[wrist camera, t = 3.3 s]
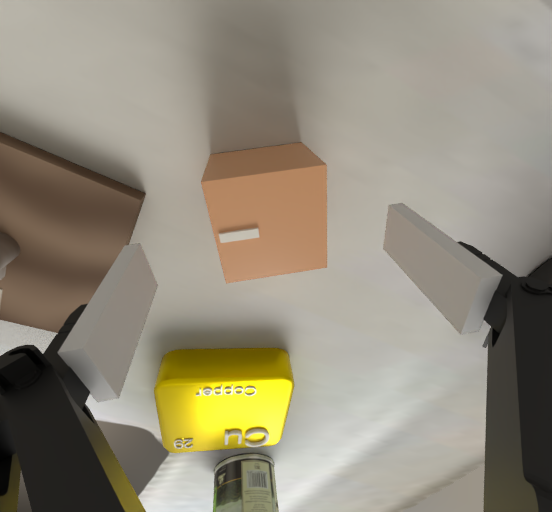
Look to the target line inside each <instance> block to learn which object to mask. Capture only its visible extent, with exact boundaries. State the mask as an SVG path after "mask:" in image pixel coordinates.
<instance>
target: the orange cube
mask: <svg viewBox="0 0 552 512" xmlns="http://www.w3.org/2000/svg"><path fill="white" fill-rule="evenodd" d="M201 184H202V188H203V192H204V196H205V200H206V204H207V208H208V212H209V216H210V220H211V224H212V228H213V232H214V236H215V240H216V244H217V248H218V252H219V257H220V261H221V265H222V269H223V273H224V277H225V281H226V283H231V282H238V281H244V280H250V279H257V278H263V277H269V276H276V275H282V274H289V273H295V272H301V271H308V270H314V269H320V268H327V165H326V164H325V163H324V162H323V161H322V160H321V159H320V158H318V157H317V156H316V155H315V154H314V153H313V152H312V151H311V150H309V149H308V148H307V147H306V146H305V145H304V144H303V143H302V142H300V143H293V144H285V145H278V146H270V147H263V148H255V149H248V150H240V151H233V152H225V153H218V154H210V157H209V160H208V163H207V166H206V169H205V172H204V175H203V178H202V181H201Z"/></svg>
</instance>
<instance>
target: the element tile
mask: <svg viewBox="0 0 552 512" xmlns="http://www.w3.org/2000/svg"><path fill="white" fill-rule="evenodd" d="M293 389H294V379H293V374H292V369H291V364H290V359H289V355H288V353H287V352H286V351H285V350H283V349H279V348H233V349H180V350H174V351H170V352H168V353H167V354H165V355H164V357H163V359H162V361H161V365H160V369H159V373H158V376H157V380H156V384H155V388H154V394H155V400H156V406H157V412H158V418H159V424H160V430H161V436H162V442H163V446H164V447H165V448H166V449H167V450H168V451H169V452H171V453H181V452H195V451H208V450H222V449H236V448H249V447H263V446H272V445H275V444H276V443H277V442H278V441H279V440H280V439H281V438H282V434H283V430H284V426H285V422H286V418H287V414H288V410H289V406H290V402H291V397H292V393H293Z"/></svg>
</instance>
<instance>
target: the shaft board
mask: <svg viewBox="0 0 552 512" xmlns="http://www.w3.org/2000/svg"><path fill="white" fill-rule="evenodd" d="M145 195H146V194H145V193H143V192H141V191H138V190H136V189H134V188H131V187H129V186H126V185H124V184H122V183H119V182H117V181H115V180H112V179H110V178H108V177H105V176H103V175H100V174H98V173H96V172H93V171H91V170H89V169H86V168H84V167H82V166H79V165H77V164H74V163H72V162H70V161H67V160H65V159H63V158H60V157H58V156H56V155H53V154H51V153H48V152H46V151H44V150H41V149H39V148H37V147H34V146H32V145H30V144H27V143H25V142H22V141H20V140H18V139H15V138H13V137H11V136H8V135H6V134H4V133H1V132H0V320H4V321H8V322H13V323H17V324H21V325H26V326H30V327H34V328H39V329H43V330H47V331H52V332H56V333H58V331H59V330H60V329H61V327H62V326H64V325H63V324H64V323H65V321H66V320H67V318H68V317H69V315H70V314H71V313H72V312H73V311H74V310H76V309H77V308H78V307H79V306H80V305H83V304H88V303H89V302H90V300H91V298H92V297H93V295H94V294H95V292H96V290H97V289H98V287H99V286H100V284H101V282H102V281H103V279H104V278H105V276H106V274H107V273H108V271H109V270H110V268H111V266H112V265H113V263H114V262H115V260H116V258H117V257H118V255H119V254H120V252H121V251H122V249H123V247H124V246H125V245H129V242H130V239H131V236H132V233H133V230H134V227H135V224H136V222H137V219H138V216H139V213H140V210H141V207H142V204H143V201H144V198H145Z"/></svg>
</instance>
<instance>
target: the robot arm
mask: <svg viewBox="0 0 552 512" xmlns="http://www.w3.org/2000/svg"><path fill="white" fill-rule="evenodd" d="M383 249H384V250H385V251H386V252H387V253H388V255H389V256H390V257H391V258H392V259H393V260H394V261H395V262H396V263H397V264H398V266H399V267H400V268H401V269H402V270H403V271H404V272H405V273H406V274H407V276H408V277H409V278H410V279H411V280H412V281H413V282H414V283H415V284H416V286H417V287H418V288H419V289H420V290H421V291H422V292H423V293H424V294H425V296H426V297H427V298H428V299H429V300H430V301H431V302H432V303H433V304H434V306H435V307H436V308H437V309H438V310H439V311H440V312H441V313H442V314H443V315H444V317H445V318H446V319H447V320H448V321H449V322H450V323H451V324H452V325H453V327H454V328H455V329H456V330H457V331H458V332H459V333H460V334H466V333H471V332H477V331H479V330H480V328H481V325H482V323H483V320H485V321H486V322H487V323H488V324H489V325H490V326H491V329H490V331H489V333H488V335H487V337H486V340H485V342H484V344H483V347H485V348H486V346H487V344H488V367H487V404H486V441H485V477H484V479H485V480H484V512H552V258H551V259H550V260H549V261H547V262H546V263H544V264H543V265H542V266H541V267H539V268H538V269H537V270H536V271H535V272H534V273H532V274H531V275H530V276H529V277H516V276H515V275H514V274H512V273H511V272H509V271H508V270H506V269H505V268H503V267H502V266H501V265H499V264H498V263H496V262H495V261H493V260H490V258H489V257H487V256H486V255H485V254H482V252H480V251H479V250H477V249H476V248H474V247H473V246H471V245H468V244H466V243H463V242H456V241H454V240H453V239H452V238H450V237H449V236H448V235H446V234H445V233H443V232H442V231H441V230H439V229H438V228H436V227H435V226H434V225H432V224H431V223H430V222H428V221H427V220H425V219H424V218H423V217H421V216H420V215H418V214H417V213H416V212H414V211H413V210H411V209H410V208H409V207H407V206H406V205H405V204H403V203H399V204H392V205H389V206H388V214H387V222H386V230H385V238H384V246H383ZM157 286H158V285H157V282H156V280H155V278H154V275H153V273H152V270H151V268H150V266H149V263H148V261H147V259H146V256H145V254H144V251H143V249H142V247H141V244H140V243H138V244H131V245H125V246H124V247H123V249H122V251H121V252H120V254H119V255H118V257H117V258H116V260H115V262H114V263H113V265H112V266H111V268H110V270H109V271H108V273H107V274H106V276H105V278H104V279H103V281H102V282H101V284H100V286H99V287H98V289H97V290H96V292H95V294H94V295H93V297H92V298H91V300H90V302H89V303H88V304H83V305H80V306H79V307H78V308H77V309H76V310H74V311H73V312H72V313H71V314H70V315H69V317H68V318H67V320H66V321H65V323H64V324H63V325H64V326H62V327H61V329H60V330H59V331H58V334H57V335H56V336H55V337H54V339H53V340H52V342H51V343H50V345H49V346H48V348H47V349H46V351H45V352H44V354H42V353H41V352H40V350H39V349H38V348H37V347H35V346H34V345H24V346H19V347H16V348H14V349H12V350H10V351H8V352H6V353H4V354H3V355H1V356H0V512H17V504H18V494H19V482H20V473H21V472H20V471H22V475H23V478H24V482H25V486H26V490H27V493H28V497H29V501H30V505H31V509H32V512H146V511H145V509H144V507H143V506H142V504H141V502H140V500H139V498H138V496H137V495H136V493H135V491H134V489H133V487H132V486H131V484H130V482H129V480H128V478H127V477H126V475H125V473H124V471H123V469H122V467H121V466H120V464H119V462H118V460H117V458H116V457H115V455H114V453H113V451H112V449H111V448H110V446H109V444H108V442H107V440H106V438H105V437H104V435H103V433H102V431H101V429H100V428H99V426H98V424H97V422H96V420H95V419H94V417H93V415H92V413H91V411H90V409H89V408H88V407H87V406H86V404H85V403H86V400H87V398H88V396H89V394H91V395H92V396H93V398H94V399H95V400H96V401H97V402H101V401H107V400H112V399H117V398H119V396H120V393H121V390H122V388H123V385H124V382H125V379H126V376H127V373H128V370H129V367H130V364H131V362H132V359H133V356H134V353H135V350H136V347H137V344H138V341H139V338H140V336H141V333H142V330H143V327H144V324H145V321H146V318H147V315H148V312H149V310H150V307H151V304H152V301H153V298H154V295H155V292H156V289H157Z"/></svg>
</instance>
